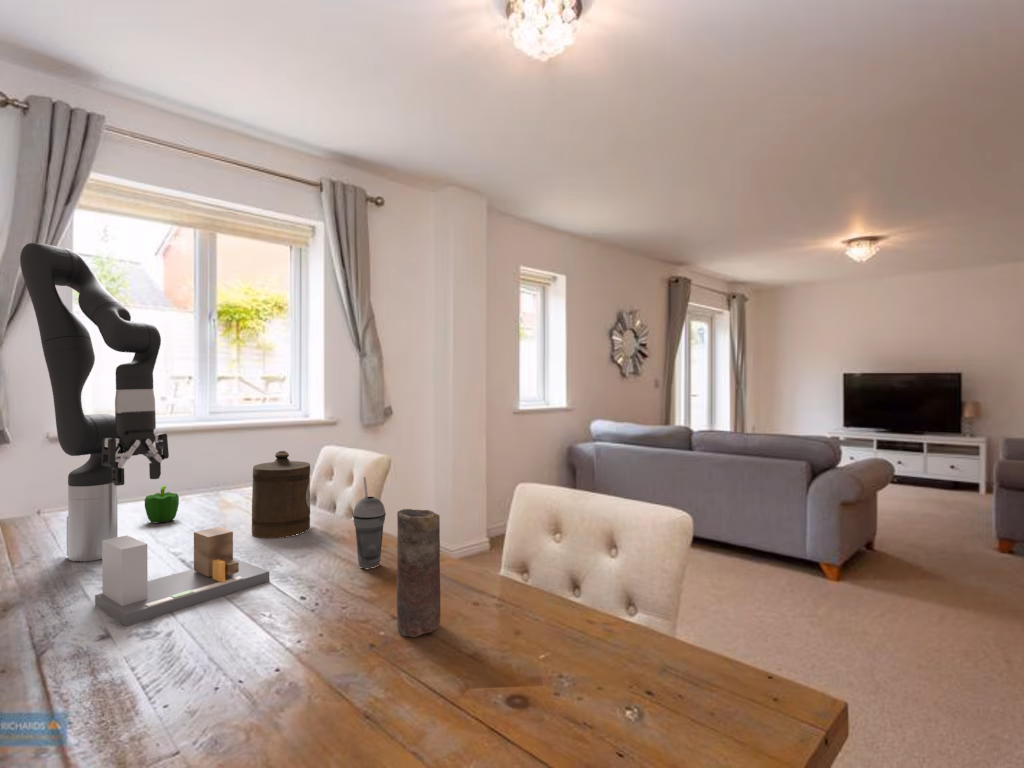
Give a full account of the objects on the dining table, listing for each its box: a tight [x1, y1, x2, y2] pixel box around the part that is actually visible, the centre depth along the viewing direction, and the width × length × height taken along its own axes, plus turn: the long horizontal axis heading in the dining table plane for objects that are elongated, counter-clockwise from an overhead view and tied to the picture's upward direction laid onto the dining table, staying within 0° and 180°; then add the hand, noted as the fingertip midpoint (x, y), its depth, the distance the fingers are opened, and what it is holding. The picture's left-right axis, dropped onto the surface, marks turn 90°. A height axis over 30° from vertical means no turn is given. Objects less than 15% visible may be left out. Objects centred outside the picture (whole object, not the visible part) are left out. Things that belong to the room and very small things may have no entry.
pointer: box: [213, 559, 225, 582], centre depth 110 cm, size 1×4×4 cm, turn 54°
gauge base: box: [94, 535, 270, 627], centre depth 109 cm, size 26×14×12 cm, turn 144°
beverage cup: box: [352, 476, 387, 568], centre depth 125 cm, size 7×7×20 cm
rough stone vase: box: [396, 508, 442, 638], centre depth 94 cm, size 8×7×20 cm
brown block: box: [193, 526, 239, 577], centre depth 114 cm, size 5×11×8 cm, turn 55°
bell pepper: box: [144, 485, 180, 523], centre depth 162 cm, size 8×8×10 cm
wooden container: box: [251, 450, 311, 539], centre depth 153 cm, size 15×15×22 cm
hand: (137, 482), depth 125 cm, fingers open, 8 cm apart
